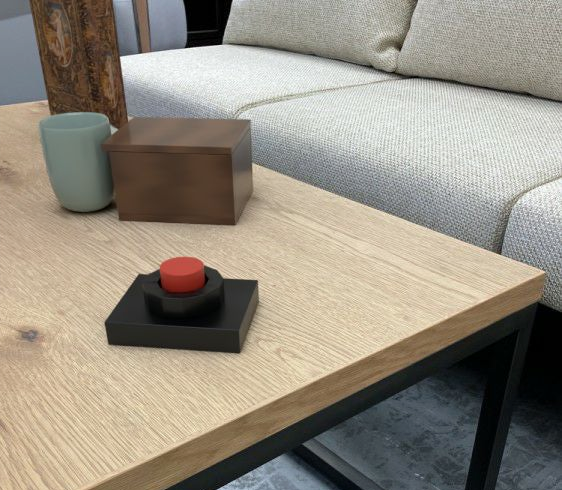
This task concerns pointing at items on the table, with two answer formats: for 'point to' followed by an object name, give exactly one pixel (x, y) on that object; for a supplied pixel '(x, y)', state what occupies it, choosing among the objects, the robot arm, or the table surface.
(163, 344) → the black button base
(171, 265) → the button
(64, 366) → the table surface
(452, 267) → the table surface
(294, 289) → the table surface
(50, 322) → the table surface
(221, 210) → the chest
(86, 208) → the cup
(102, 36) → the book
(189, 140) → the lid
